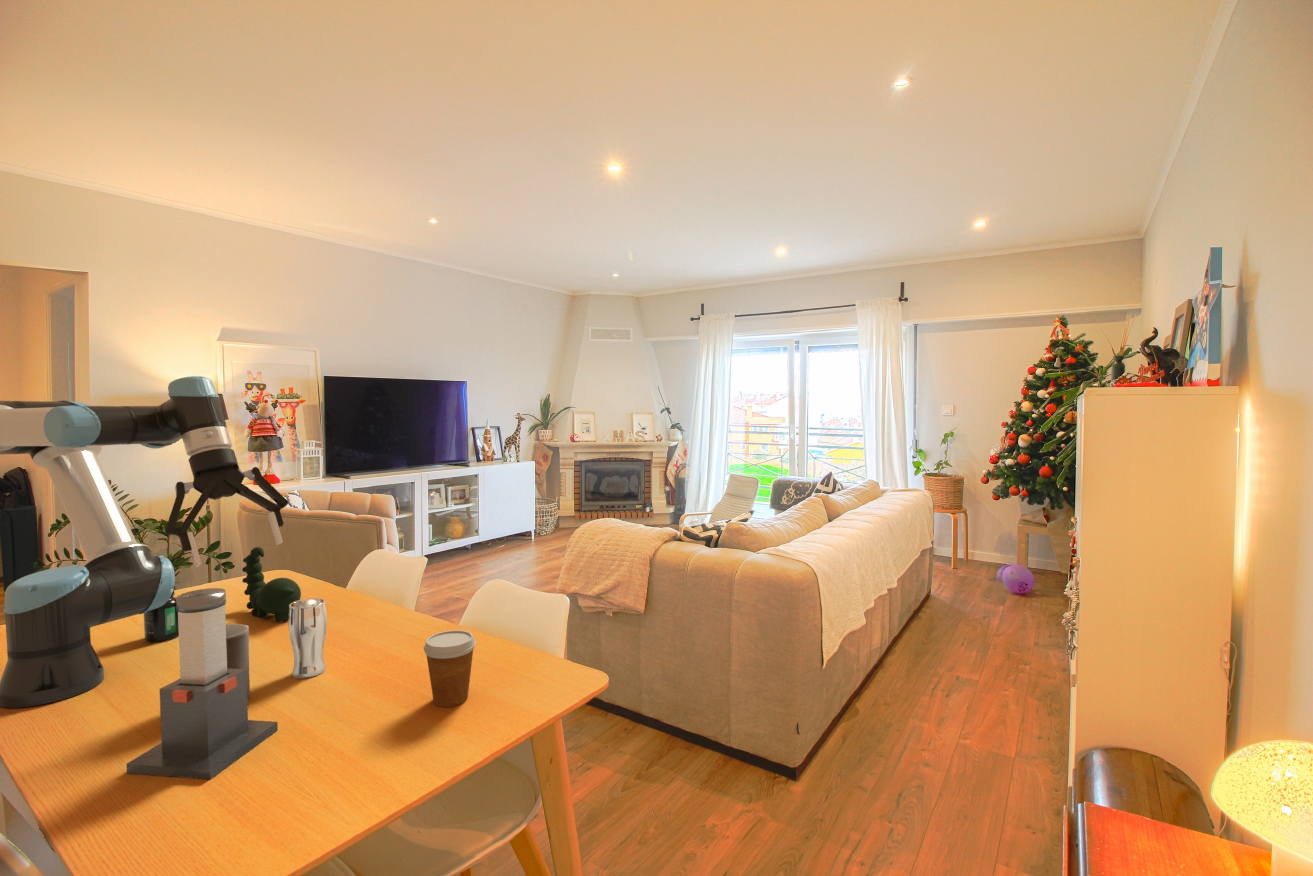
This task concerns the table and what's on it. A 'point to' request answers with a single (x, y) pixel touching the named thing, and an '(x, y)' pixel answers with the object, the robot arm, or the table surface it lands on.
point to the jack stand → (203, 729)
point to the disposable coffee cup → (450, 666)
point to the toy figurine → (268, 590)
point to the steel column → (202, 636)
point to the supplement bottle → (162, 622)
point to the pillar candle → (238, 649)
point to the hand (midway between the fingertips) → (240, 554)
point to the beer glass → (307, 636)
